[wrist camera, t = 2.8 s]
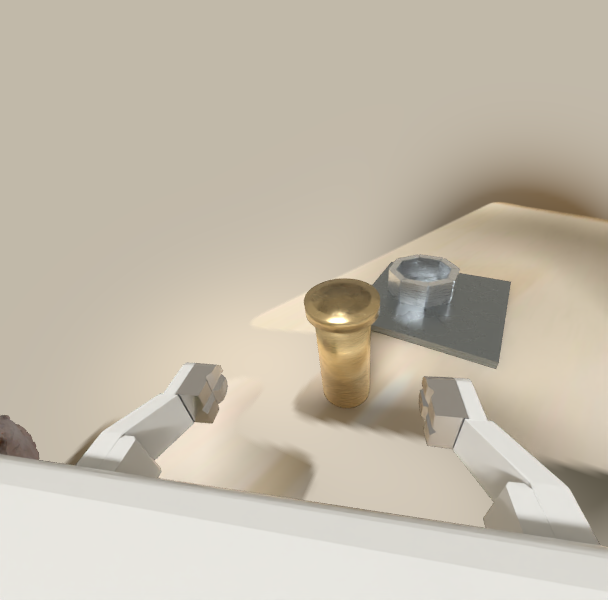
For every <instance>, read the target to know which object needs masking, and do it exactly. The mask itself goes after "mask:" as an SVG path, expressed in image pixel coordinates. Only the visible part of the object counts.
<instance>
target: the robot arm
mask: <svg viewBox="0 0 608 600" xmlns="http://www.w3.org/2000/svg"><path fill="white" fill-rule="evenodd" d="M222 371H223V370H222V368H221V365H213V364H200V363H185V364H184V365H183V366H182V367H181V369H180V370H179V371H178V373H177V375H176V376H175V377H174V379H173V380H172V382H171V383H170V384H169V386H168V387H167V389H166V390H165V392H164V393H163V394H161V393H160V394H158V395H157V396H155V397H154V398H152V399H151V400H149V401H148V402H146V403H145V404H143V405H142V406H140V407H139V408H137V409H136V410H134V411H133V412H131V413H129V414H128V415H126V416H125V417H123V418H122V419H120V420H119V421H117V422H116V423H114V424H113V425H111V426H110V427H108V428H107V429H105V430H104V431H102V432H101V434H100V435H99V436H98V437H97V439H96V440H95V441H94V442H93V444H92V445H91V446H90V447H89V449H88V450H87V451H86V452H85V454H84V455H83V456H82V457H81V459H80V460H79V461H78V462H77V464H76V465H69V464H62V463H55V462H49V461H42V460H36V459H29V458H22V457H16V456H9V455H3V454H0V600H608V547H607V546H601V545H600V543H599V541H598V540H597V538H596V536H595V534H594V533H593V531H592V529H591V527H590V525H589V523H588V521H587V520H586V518H585V516H584V514H583V513H582V511H581V509H580V507H579V505H578V504H577V502H576V500H575V498H574V496H573V494H572V492H571V491H570V489H569V487H567V486H566V485H565V484H564V483H563V482H562V481H561V480H559V479H558V478H557V477H556V476H555V475H554V474H553V473H551V472H550V471H549V470H548V469H547V468H546V467H545V466H543V465H542V464H541V463H540V462H539V461H538V460H537V459H535V458H534V457H533V456H532V455H531V454H530V453H529V452H527V451H526V450H525V449H524V448H523V447H522V446H521V445H519V444H518V443H517V442H516V441H515V440H514V439H513V438H511V437H510V436H509V435H508V434H507V433H506V432H505V431H503V430H502V429H501V428H500V427H499V426H498V425H497V424H495V423H494V422H493V421H488V420H487V417H486V415H485V412H484V410H483V408H482V405H481V403H480V400H479V398H478V396H477V393H476V391H475V389H474V386H473V384H472V381H471V380H470V379H463V378H449V377H427V376H424V377H423V380H422V386H423V389H422V390H420V395H419V407H420V414H421V417H422V418H423V419H424V420H425V422H424V427H423V429H424V434H425V438H426V443H427V446H434V447H442V448H449V449H453V451H454V452H455V454H456V455H457V456H458V457H459V459H460V460H461V461H462V462H463V464H464V465H465V466H466V468H467V469H468V470H469V471H470V473H471V474H472V475H473V476H474V478H475V479H476V480H477V482H478V483H479V484H480V485H481V486H482V488H483V489H484V490H485V492H486V493H487V494H488V495H489V497H490V498H491V499H492V501H493V502H494V503H493V505H492V506H491V508H490V509H489V511H488V512H487V513H486V515H485V516H484V518H483V520H484V524H485V527H486V528H483V527H476V526H469V525H463V524H456V523H449V522H443V521H437V520H430V519H423V518H417V517H410V516H404V515H397V514H391V513H384V512H377V511H371V510H364V509H358V508H351V507H345V506H338V505H332V504H325V503H318V502H312V501H305V500H299V499H292V498H286V497H279V496H273V495H266V494H259V493H253V492H246V491H240V490H233V489H227V488H220V487H213V486H207V485H200V484H194V483H187V482H181V481H174V480H167V479H161V478H158V477H159V475H160V473H161V468H160V467H159V465H158V464H157V463H156V462H155V461H154V460H155V459H156V458H157V457H158V456H160V455H161V454H162V453H163V452H164V451H165V450H166V449H167V448H168V447H169V446H170V445H171V444H172V443H173V442H174V441H176V440H177V439H178V438H179V437H180V436H181V435H182V434H183V433H184V432H185V431H186V430H187V429H188V428H189V427H190V426H192V425H193V424H194V422H199V423H213V421H214V419H215V417H216V415H217V413H218V411H219V405H218V404H219V403H220V402H221V401H223V400H224V398H225V396H226V393H227V387H228V385H227V380H226V378H225V377H224V376H223V375H222V374H221V373H222Z"/></svg>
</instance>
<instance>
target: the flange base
mask: <svg viewBox="0 0 608 600" xmlns="http://www.w3.org/2000/svg"><path fill="white" fill-rule="evenodd" d="M459 271H460V269H459V268H458V267H457V266H455V265H454V264H453V263H451V262H450V261H448V260H447V259H445V258H444V259H443V258H441V257H434V256H427V255H413V256H408V257H403V258H398V259H396V261H395V262H391V263H390V264H389V266H388V267H387V268H386V269H385V271H384V272H383V273H382V274H381V275H380V277H379V278H378V279H377V280H376V282H375V283H374V284H373V285H372V286H373V287H374V288H375V289H376V290H377V291H378V293H379V295H380V312H379V316H378V318H377V319H376V321H375V322H374V323H373V324H372V325H371V330H372V331H376V332H379V333H382V334H385V335H388V336H392V337H395V338H398V339H401V340H404V341H408V342H411V343H414V344H417V345H421V346H424V347H427V348H430V349H433V350H437V351H440V352H443V353H446V354H450V355H453V356H456V357H459V358H462V359H466V360H469V361H472V362H475V363H478V364H482V365H485V366H488V367H491V368H495V369H496V368H497V365H498V363H499V357H500V350H501V343H502V337H503V330H504V324H505V317H506V310H507V304H508V297H509V290H510V284H511V282H509V281H503V280H497V279H491V278H485V277H479V276H473V275H467V274H461V273H459Z"/></svg>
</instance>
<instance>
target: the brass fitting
mask: <svg viewBox="0 0 608 600" xmlns="http://www.w3.org/2000/svg"><path fill="white" fill-rule="evenodd" d="M304 305H305V312H306V317H307V319H308V321H309V322H310V323H311V324H312V325H313V326H315V328H316V336H317V344H318V352H319V360H320V368H321V376H322V384H323V391H324V395H325V397H326V398H327V400H328V401H329V402H331V403H332V404H334V405H335V406H338V407H342V408H352V407H356V406H358V405H360V404H362V403H363V402H364V401H365V400H366V399H367V397H368V394H369V381H370V339H371V325H372V324H373V323H374V322H375V321H376V319H377V318H378V316H379V312H380V295H379V293H378V291H377V290H376V289H375V288H374V287H373V286H372V285H370V284H368V283H366V282H363V281H360V280H355V279H334V280H329V281H325V282H322V283H320V284H318V285H316V286H314V287H313V288H311V289H310V290H309V291H308V292H307V294H306V296H305V298H304Z"/></svg>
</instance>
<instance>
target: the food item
mask: <svg viewBox="0 0 608 600" xmlns="http://www.w3.org/2000/svg"><path fill="white" fill-rule="evenodd" d="M0 454H3V455H9V456H16V457H22V458H29V459H36V460H39V452H38V451H37V449H36V444H35V442H33V440H32V437H31V435H30V434H29V433H28V432H26V430H25V429H24V428H23V427H21V426H20V425H17V424H15V423H14V422H13V421H11V420H10V417H9V416H8V415H1V416H0Z"/></svg>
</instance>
